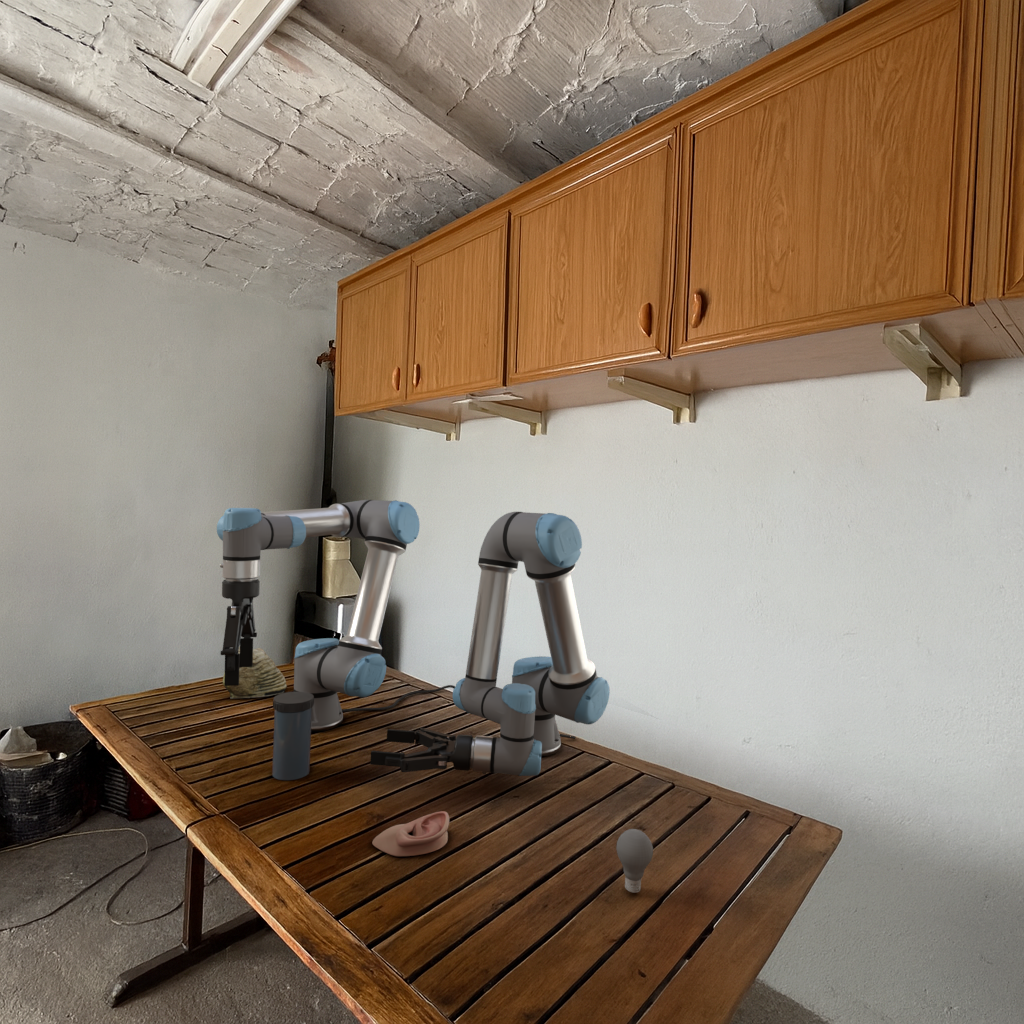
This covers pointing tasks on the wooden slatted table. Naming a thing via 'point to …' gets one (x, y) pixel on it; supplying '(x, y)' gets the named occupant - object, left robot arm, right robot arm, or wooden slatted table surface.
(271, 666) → the fossil
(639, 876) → the light bulb
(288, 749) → the jar
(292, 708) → the lid
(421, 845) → the anatomical model
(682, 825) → the wooden slatted table surface
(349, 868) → the wooden slatted table surface
